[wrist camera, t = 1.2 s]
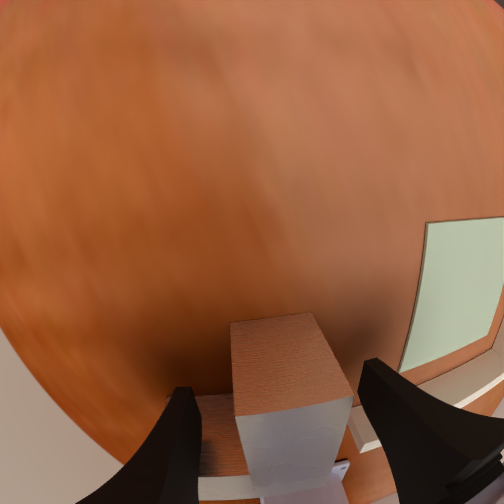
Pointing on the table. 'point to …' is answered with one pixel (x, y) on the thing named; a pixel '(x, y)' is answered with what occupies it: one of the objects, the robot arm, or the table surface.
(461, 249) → the mat
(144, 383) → the table surface
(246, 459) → the bracket
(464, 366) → the arena
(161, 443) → the robot arm
